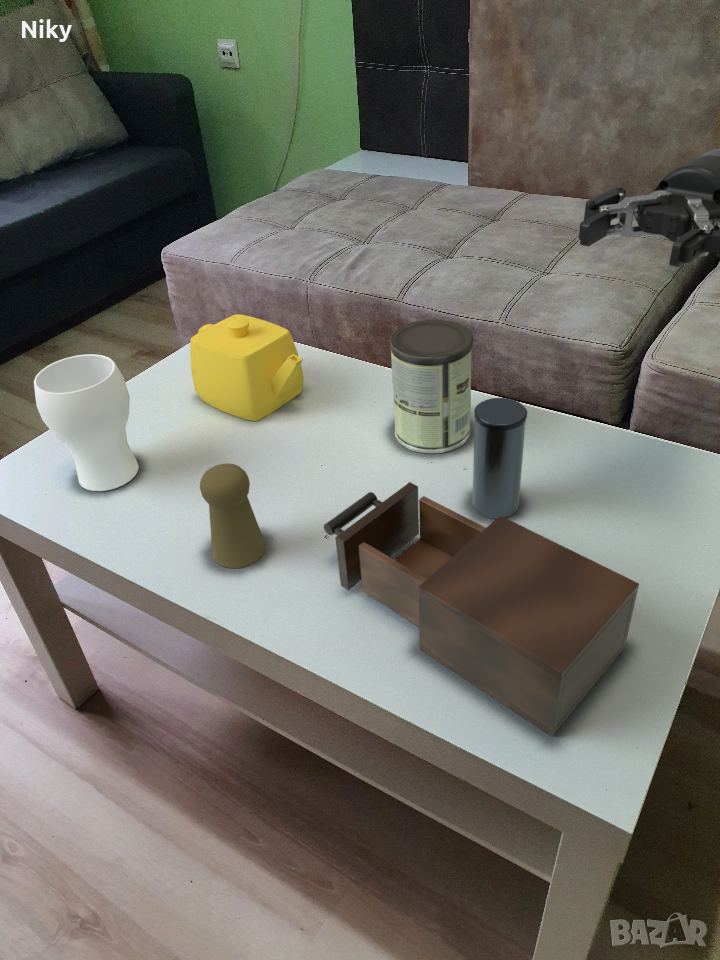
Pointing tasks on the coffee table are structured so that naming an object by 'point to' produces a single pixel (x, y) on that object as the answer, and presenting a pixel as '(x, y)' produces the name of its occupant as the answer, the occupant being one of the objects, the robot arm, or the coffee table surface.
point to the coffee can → (432, 385)
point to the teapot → (245, 366)
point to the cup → (89, 417)
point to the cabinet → (526, 620)
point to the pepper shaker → (231, 516)
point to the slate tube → (498, 456)
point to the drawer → (397, 546)
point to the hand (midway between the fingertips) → (628, 245)
